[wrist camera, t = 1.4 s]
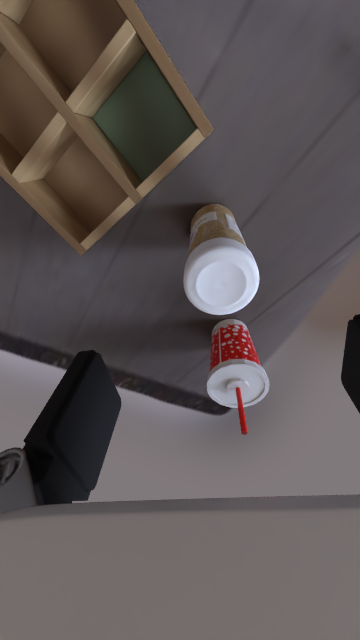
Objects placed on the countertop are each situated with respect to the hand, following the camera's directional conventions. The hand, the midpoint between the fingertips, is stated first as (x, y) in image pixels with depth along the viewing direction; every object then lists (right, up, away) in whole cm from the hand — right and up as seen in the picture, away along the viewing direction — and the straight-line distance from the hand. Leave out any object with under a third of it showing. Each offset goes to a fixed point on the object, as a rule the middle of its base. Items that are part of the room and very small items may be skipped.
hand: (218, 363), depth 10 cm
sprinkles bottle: (+2, +11, +17) cm, 20 cm away
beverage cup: (+5, 0, +24) cm, 24 cm away
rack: (-9, +19, +13) cm, 25 cm away
